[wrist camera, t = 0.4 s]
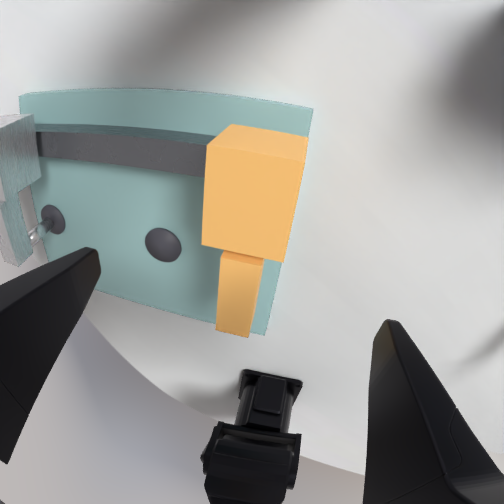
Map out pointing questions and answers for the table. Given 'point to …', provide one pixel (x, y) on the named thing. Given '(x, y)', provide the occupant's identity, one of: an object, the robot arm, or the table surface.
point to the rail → (125, 146)
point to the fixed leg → (18, 186)
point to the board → (147, 196)
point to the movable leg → (249, 212)
